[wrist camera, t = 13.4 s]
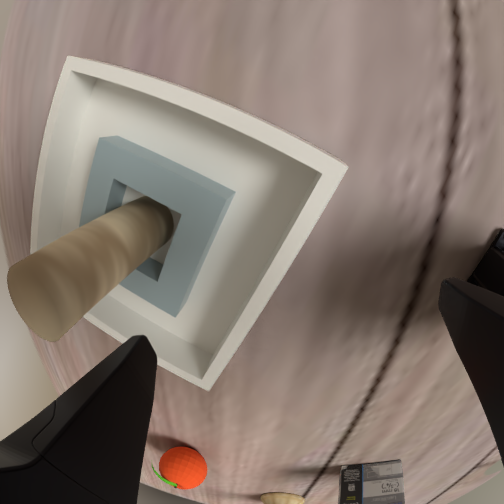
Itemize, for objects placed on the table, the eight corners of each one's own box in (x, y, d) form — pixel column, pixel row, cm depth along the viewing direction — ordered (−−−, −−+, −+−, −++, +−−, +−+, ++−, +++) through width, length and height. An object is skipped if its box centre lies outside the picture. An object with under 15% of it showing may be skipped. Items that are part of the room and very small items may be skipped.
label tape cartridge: (402, 458, 29) (407, 532, 18) (396, 469, 31) (399, 537, 20) (341, 464, 31) (336, 541, 20) (339, 474, 33) (333, 545, 22)
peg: (181, 239, 21) (76, 340, 10) (140, 252, 22) (36, 342, 12) (161, 188, 20) (30, 255, 9) (121, 205, 21) (-2, 273, 10)
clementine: (158, 444, 37) (142, 478, 31) (166, 428, 34) (147, 468, 28) (205, 465, 37) (192, 500, 31) (219, 452, 34) (205, 492, 28)
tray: (341, 160, 18) (348, 166, 14) (221, 360, 26) (208, 391, 23) (100, 61, 18) (67, 55, 14) (55, 259, 26) (30, 275, 23)
